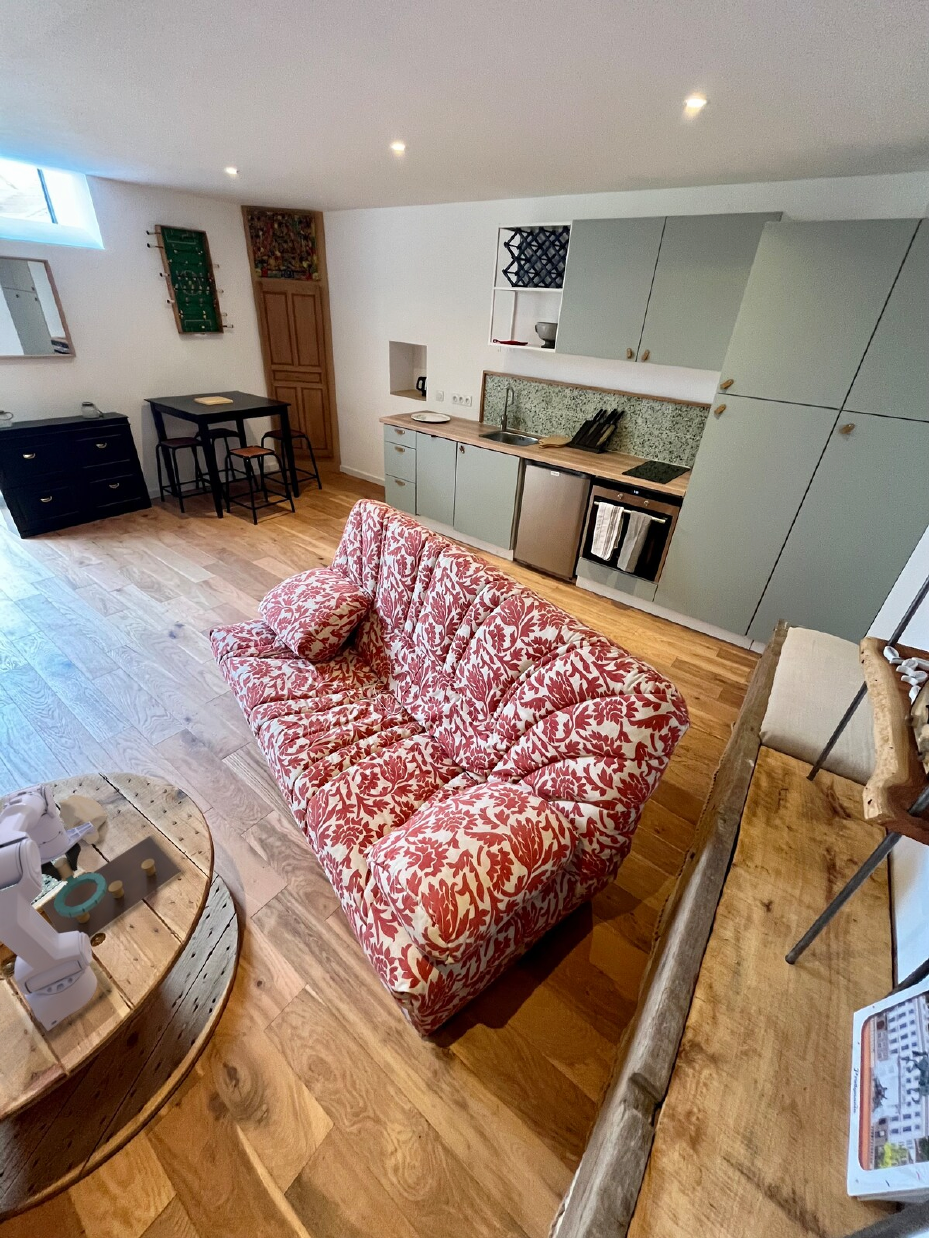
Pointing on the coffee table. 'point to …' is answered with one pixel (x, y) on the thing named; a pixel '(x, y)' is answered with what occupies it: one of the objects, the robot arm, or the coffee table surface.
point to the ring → (68, 875)
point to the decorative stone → (82, 814)
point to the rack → (116, 888)
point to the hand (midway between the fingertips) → (66, 872)
